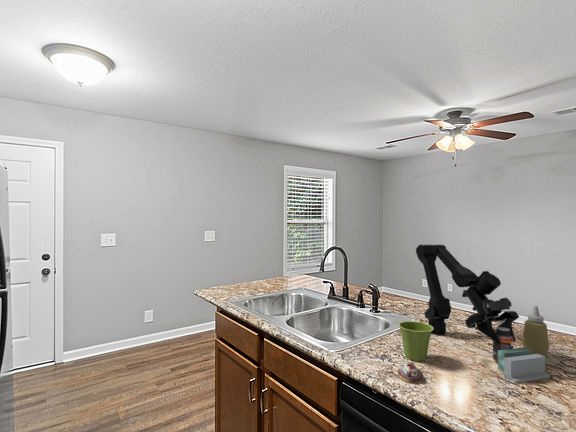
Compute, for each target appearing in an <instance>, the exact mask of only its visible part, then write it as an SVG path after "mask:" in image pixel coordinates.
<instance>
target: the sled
mask: <svg viewBox="0 0 576 432" xmlns="http://www.w3.org/2000/svg"><path fill="white" fill-rule="evenodd" d="M524 355H531V350H529V349H527V348H524V347H516V348H515V347H514V348H513V349H506V350H498V362H496V361H494V360H493V355H486V356H482V355H480V354H476V357H475V358H476V362H477V361H478V362H479V363H481V364H483V365H485V366H487V367H489V368H490V369H493V370H495V371H496V372H499V373H501V374H502V375H504V358H507V357H515V356H524Z"/></svg>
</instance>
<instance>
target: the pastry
mask: <svg viewBox="0 0 576 432" xmlns="http://www.w3.org/2000/svg"><path fill="white" fill-rule="evenodd" d="M397 375H398V379H400V380H401V381H402V382H405V383H406V384H407V383H408V384H420V383H423V381H424V374H423V372H422V371H421V369H419V368H418V367H416V366H415V365H414V363H412V362H408V363H405V365H401V366H400V367H398V370H397Z"/></svg>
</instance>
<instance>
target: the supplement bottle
mask: <svg viewBox="0 0 576 432" xmlns="http://www.w3.org/2000/svg"><path fill="white" fill-rule="evenodd" d="M495 332H496V334H497V336H498V337H499V339H500V342H501V343H500V344H497V343H496V342H495V341H493V340H492V356H493V360H494V361H496V362H498V350H506V349H514V348H515V346H514V343H515V342H514V340H513V337H512V336H511V335H510V329H508V328H505V327H498V326H497V327H496V328H495Z"/></svg>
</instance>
